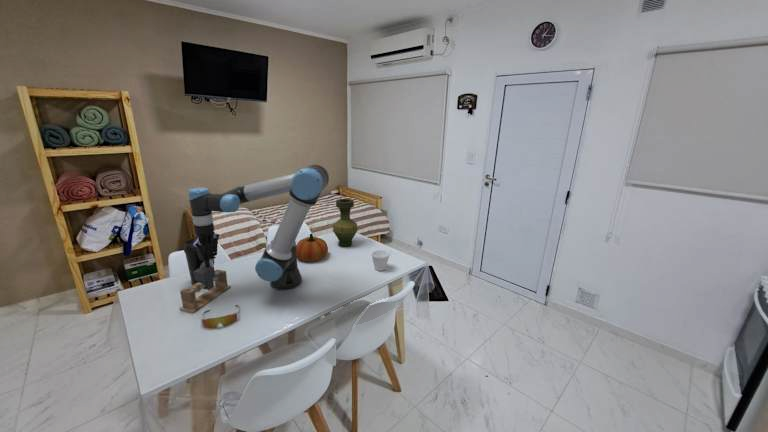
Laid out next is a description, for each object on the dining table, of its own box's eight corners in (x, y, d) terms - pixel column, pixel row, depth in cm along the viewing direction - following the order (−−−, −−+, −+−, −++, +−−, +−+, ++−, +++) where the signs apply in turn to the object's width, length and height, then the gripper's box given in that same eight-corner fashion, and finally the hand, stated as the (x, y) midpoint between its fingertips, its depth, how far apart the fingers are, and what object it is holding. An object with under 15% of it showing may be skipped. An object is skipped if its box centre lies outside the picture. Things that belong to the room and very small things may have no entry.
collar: (206, 283, 144) (204, 265, 141) (216, 285, 142) (214, 267, 140) (196, 289, 138) (193, 271, 135) (206, 291, 137) (203, 273, 134)
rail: (218, 285, 152) (216, 268, 149) (231, 287, 150) (228, 270, 148) (180, 310, 132) (176, 291, 129) (193, 313, 130) (190, 294, 127)
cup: (368, 270, 171) (368, 255, 168) (375, 263, 180) (375, 248, 177) (385, 274, 167) (385, 258, 165) (391, 266, 176) (392, 251, 173)
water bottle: (203, 289, 148) (196, 244, 141) (185, 286, 150) (176, 242, 143) (218, 279, 158) (212, 237, 151) (200, 276, 160) (193, 234, 153)
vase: (329, 248, 198) (328, 203, 189) (337, 239, 214) (336, 197, 205) (354, 250, 196) (354, 205, 187) (360, 241, 211) (360, 198, 202)
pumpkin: (313, 248, 199) (312, 225, 194) (334, 256, 188) (334, 232, 183) (288, 258, 184) (286, 234, 179) (310, 267, 173) (309, 242, 168)
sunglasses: (199, 333, 119) (197, 321, 118) (205, 315, 133) (203, 304, 132) (239, 324, 124) (238, 313, 123) (241, 309, 138) (240, 298, 137)
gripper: (208, 218, 142) (215, 264, 149) (183, 227, 130) (192, 277, 137) (222, 220, 140) (228, 267, 147) (198, 229, 128) (206, 280, 135)
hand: (210, 272), depth 142 cm, fingers closed
